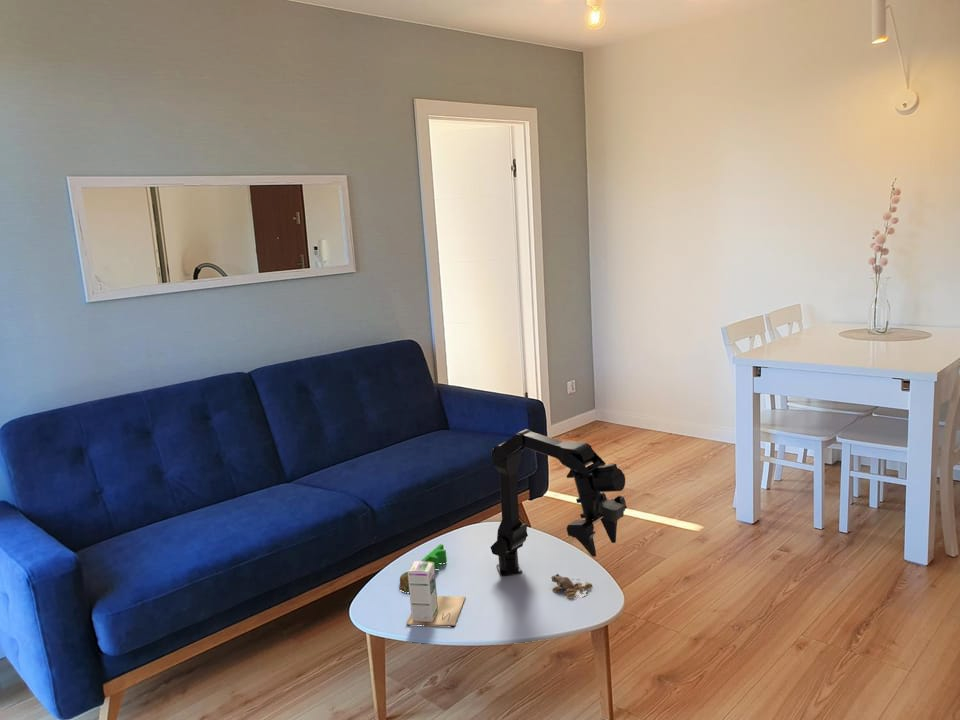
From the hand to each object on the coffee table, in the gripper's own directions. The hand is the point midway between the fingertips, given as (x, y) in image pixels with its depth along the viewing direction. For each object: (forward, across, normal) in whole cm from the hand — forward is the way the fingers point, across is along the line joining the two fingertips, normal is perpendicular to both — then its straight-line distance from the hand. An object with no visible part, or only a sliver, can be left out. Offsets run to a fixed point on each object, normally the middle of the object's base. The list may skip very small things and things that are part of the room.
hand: (604, 549), depth 193 cm
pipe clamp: (+3, -11, +56) cm, 57 cm away
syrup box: (+6, -33, +38) cm, 51 cm away
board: (+7, -29, +38) cm, 48 cm away
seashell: (+3, -23, +53) cm, 58 cm away
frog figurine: (+13, 0, +16) cm, 20 cm away
